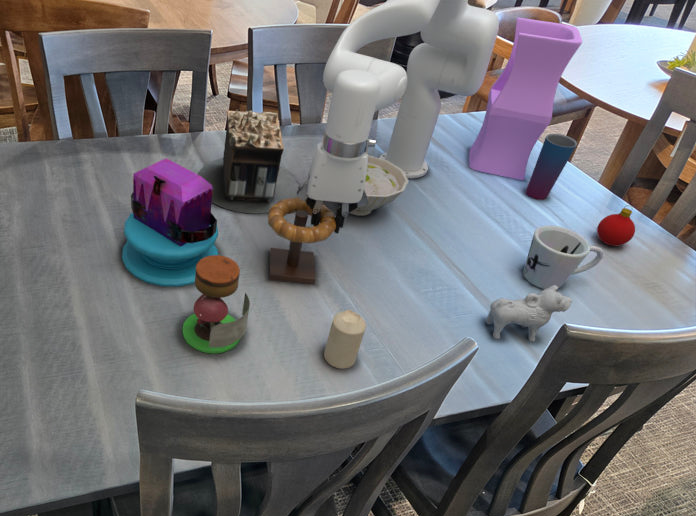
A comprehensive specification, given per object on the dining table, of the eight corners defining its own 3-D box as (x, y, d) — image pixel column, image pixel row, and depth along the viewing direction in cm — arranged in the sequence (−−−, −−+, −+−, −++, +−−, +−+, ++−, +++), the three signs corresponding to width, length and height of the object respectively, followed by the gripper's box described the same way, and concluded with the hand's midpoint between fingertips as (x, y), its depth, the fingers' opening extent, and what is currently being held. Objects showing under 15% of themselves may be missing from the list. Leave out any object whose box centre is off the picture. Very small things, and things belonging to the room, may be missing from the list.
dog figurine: (556, 343, 117) (582, 300, 110) (488, 339, 116) (510, 296, 109) (544, 323, 121) (569, 280, 114) (478, 319, 120) (499, 276, 113)
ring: (268, 204, 128) (269, 192, 126) (332, 211, 127) (334, 198, 125) (266, 242, 118) (268, 229, 116) (336, 249, 117) (339, 236, 116)
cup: (553, 203, 155) (580, 148, 145) (524, 199, 155) (549, 144, 146) (547, 189, 160) (573, 135, 150) (519, 185, 160) (543, 131, 151)
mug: (508, 261, 135) (526, 223, 129) (577, 265, 135) (598, 227, 129) (526, 293, 127) (546, 254, 121) (599, 297, 127) (623, 259, 121)
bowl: (300, 205, 148) (307, 168, 141) (344, 177, 159) (352, 141, 153) (371, 241, 138) (382, 202, 132) (413, 208, 150) (425, 171, 143)
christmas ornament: (588, 243, 142) (609, 206, 136) (594, 229, 147) (615, 193, 140) (622, 256, 139) (645, 218, 133) (628, 241, 143) (650, 204, 137)
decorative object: (170, 300, 120) (173, 215, 107) (101, 254, 130) (97, 170, 117) (237, 256, 132) (247, 174, 119) (169, 217, 141) (172, 137, 129)
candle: (320, 346, 113) (331, 305, 106) (350, 345, 113) (362, 304, 107) (327, 369, 108) (339, 328, 102) (358, 368, 109) (372, 327, 102)
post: (269, 253, 133) (278, 198, 124) (312, 257, 133) (324, 203, 124) (269, 280, 126) (278, 224, 118) (314, 284, 126) (326, 229, 117)
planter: (319, 195, 152) (334, 123, 140) (237, 225, 140) (245, 149, 128) (255, 151, 167) (263, 82, 155) (176, 174, 156) (179, 103, 144)
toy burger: (166, 346, 111) (168, 281, 101) (195, 303, 120) (199, 240, 110) (228, 369, 107) (237, 303, 98) (253, 323, 116) (263, 259, 107)
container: (469, 146, 176) (516, 16, 153) (521, 156, 173) (577, 26, 150) (468, 169, 166) (519, 34, 143) (524, 180, 163) (584, 44, 140)
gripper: (388, 137, 113) (366, 221, 125) (297, 129, 114) (283, 213, 126) (394, 157, 107) (370, 243, 119) (298, 149, 108) (283, 235, 120)
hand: (325, 227), depth 122 cm, fingers closed on ring, 3 cm apart
